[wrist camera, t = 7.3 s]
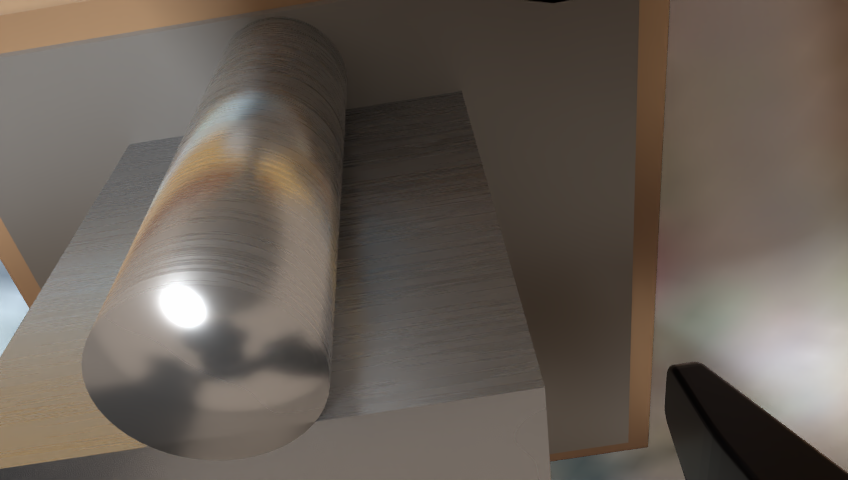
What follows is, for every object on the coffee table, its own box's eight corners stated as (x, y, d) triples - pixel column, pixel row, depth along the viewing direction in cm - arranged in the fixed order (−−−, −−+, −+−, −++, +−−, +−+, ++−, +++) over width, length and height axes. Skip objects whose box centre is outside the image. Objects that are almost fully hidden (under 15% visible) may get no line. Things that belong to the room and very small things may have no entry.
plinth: (615, 366, 18) (651, 454, 16) (178, 432, 18) (151, 527, 16) (619, -124, 12) (680, -95, 9) (-44, -12, 12) (-139, 41, 10)
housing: (506, 462, 15) (572, 799, 10) (275, 496, 16) (233, 846, 11) (449, -12, 10) (534, 229, 5) (88, 46, 10) (-192, 342, 5)
